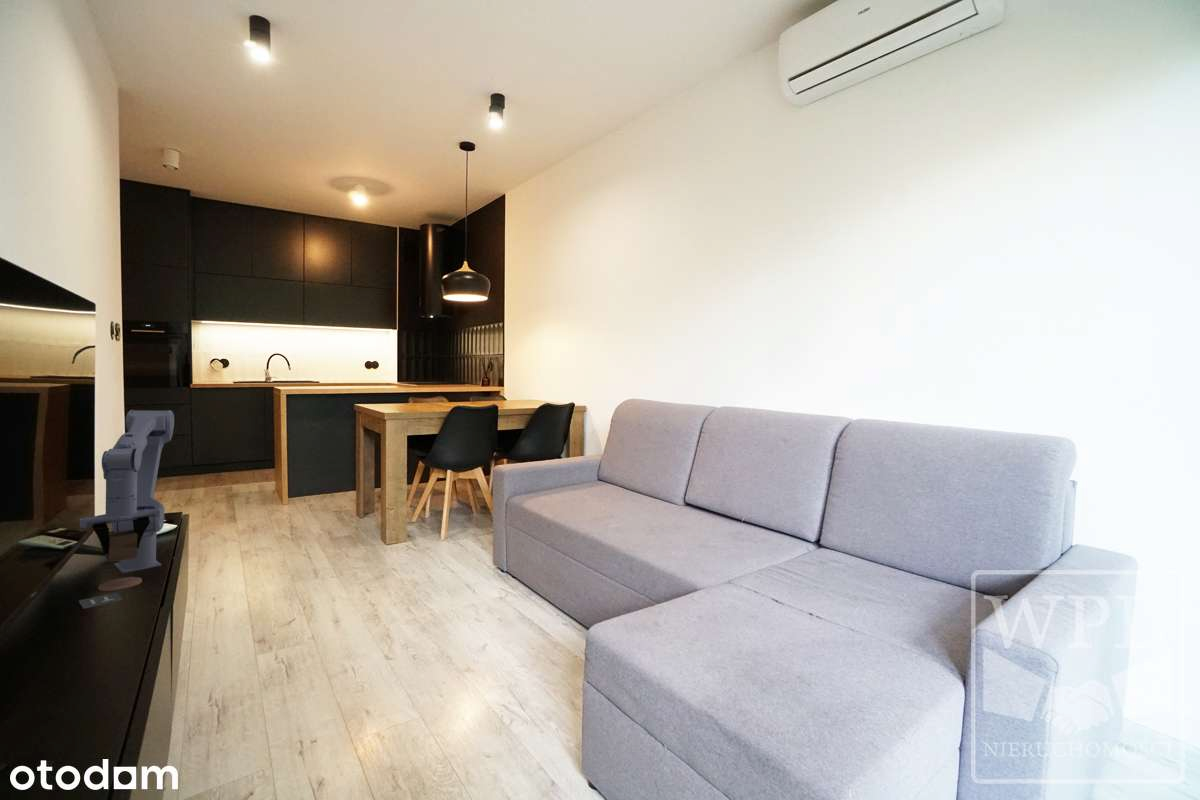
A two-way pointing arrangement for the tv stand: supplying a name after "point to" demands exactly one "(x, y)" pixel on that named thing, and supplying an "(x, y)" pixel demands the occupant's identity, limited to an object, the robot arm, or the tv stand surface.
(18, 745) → the tv stand surface
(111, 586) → the coaster
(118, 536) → the walnut block
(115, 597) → the board
